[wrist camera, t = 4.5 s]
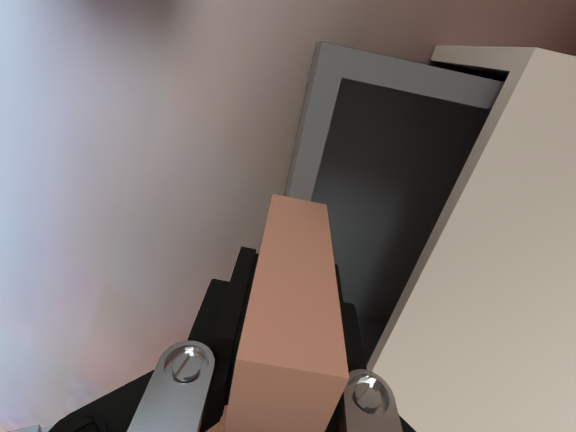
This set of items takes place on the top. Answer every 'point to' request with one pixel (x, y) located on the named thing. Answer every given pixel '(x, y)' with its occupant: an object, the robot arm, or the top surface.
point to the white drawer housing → (497, 266)
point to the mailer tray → (348, 225)
